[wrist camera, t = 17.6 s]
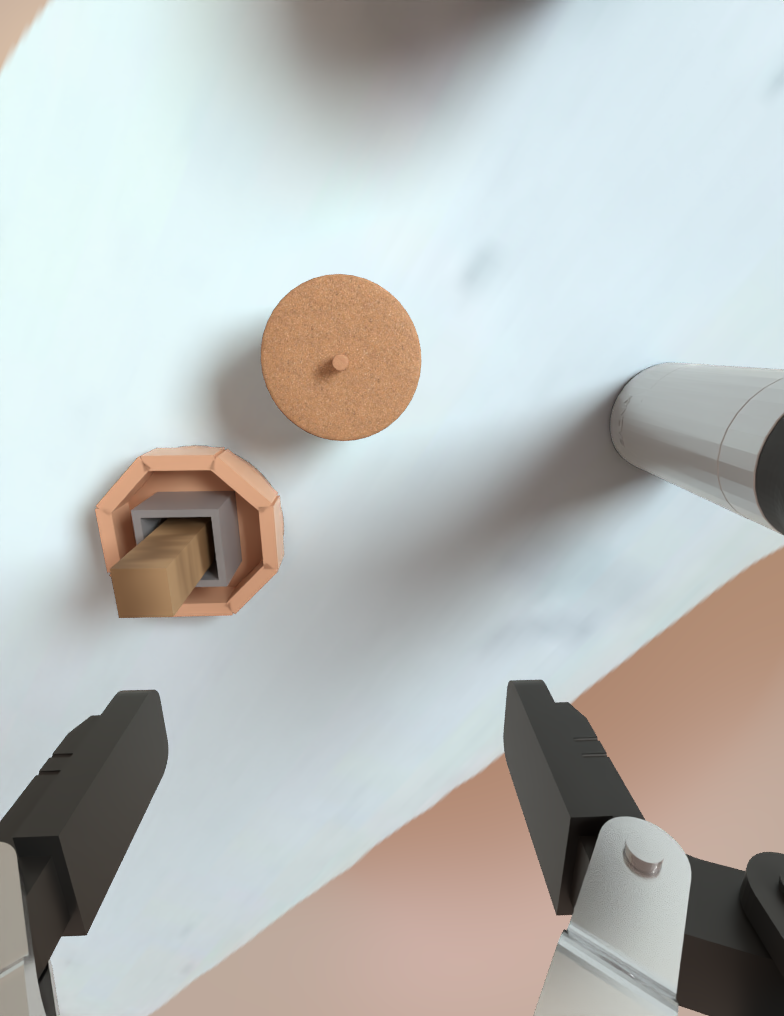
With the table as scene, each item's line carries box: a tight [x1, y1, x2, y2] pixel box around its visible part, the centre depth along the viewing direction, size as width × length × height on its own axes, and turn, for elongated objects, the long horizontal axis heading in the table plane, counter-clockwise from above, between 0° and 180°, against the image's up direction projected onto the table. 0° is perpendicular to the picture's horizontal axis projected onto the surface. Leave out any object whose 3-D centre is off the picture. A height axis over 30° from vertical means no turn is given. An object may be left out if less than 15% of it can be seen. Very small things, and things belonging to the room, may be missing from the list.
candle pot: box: [95, 445, 284, 617], centre depth 42 cm, size 14×14×6 cm
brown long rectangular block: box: [110, 517, 216, 618], centre depth 38 cm, size 4×4×12 cm
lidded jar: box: [261, 274, 421, 441], centre depth 36 cm, size 11×11×9 cm
